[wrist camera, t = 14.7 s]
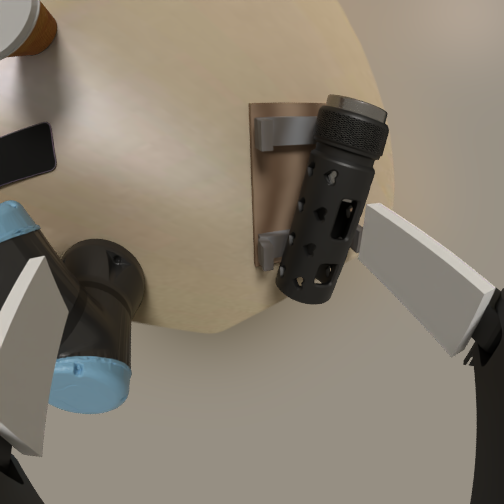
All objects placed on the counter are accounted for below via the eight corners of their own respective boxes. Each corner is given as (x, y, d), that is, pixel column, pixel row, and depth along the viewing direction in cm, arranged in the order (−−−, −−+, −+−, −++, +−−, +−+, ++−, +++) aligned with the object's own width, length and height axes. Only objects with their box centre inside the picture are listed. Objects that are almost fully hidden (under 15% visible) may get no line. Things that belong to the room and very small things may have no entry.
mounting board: (254, 263, 51) (264, 281, 46) (248, 103, 38) (260, 104, 33) (346, 246, 55) (361, 261, 50) (357, 105, 41) (378, 109, 37)
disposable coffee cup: (22, 7, 19) (-17, -11, 9) (76, 3, 23) (48, -23, 13) (3, 67, 23) (-42, 65, 13) (56, 66, 27) (18, 59, 17)
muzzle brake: (263, 267, 49) (286, 307, 40) (307, 91, 36) (348, 94, 28) (314, 268, 52) (343, 304, 43) (361, 109, 39) (407, 119, 31)
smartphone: (57, 169, 34) (-19, 193, 30) (59, 167, 35) (-16, 190, 31) (49, 120, 30) (-29, 148, 26) (52, 119, 31) (-25, 147, 27)
